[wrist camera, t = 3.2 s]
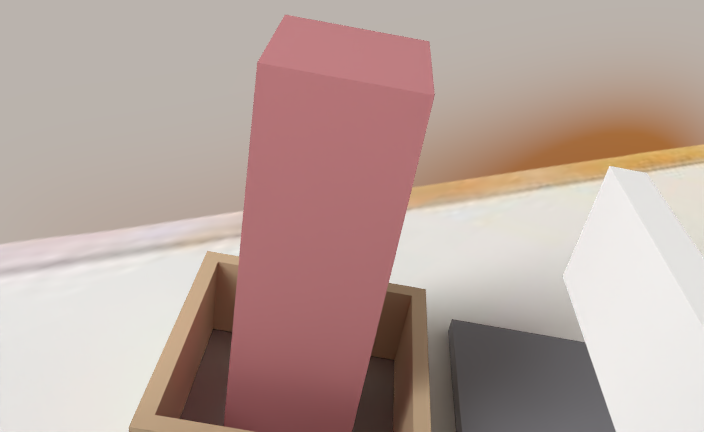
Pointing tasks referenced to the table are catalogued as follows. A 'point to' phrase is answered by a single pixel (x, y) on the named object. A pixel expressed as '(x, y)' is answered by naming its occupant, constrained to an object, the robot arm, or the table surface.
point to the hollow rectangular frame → (218, 313)
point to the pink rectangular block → (322, 219)
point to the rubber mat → (523, 382)
